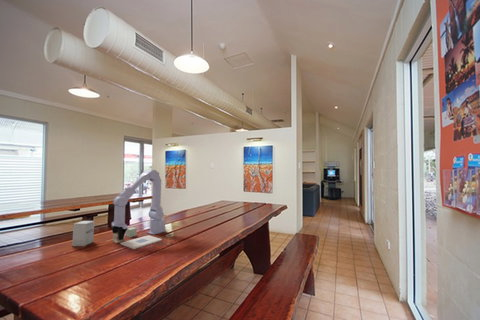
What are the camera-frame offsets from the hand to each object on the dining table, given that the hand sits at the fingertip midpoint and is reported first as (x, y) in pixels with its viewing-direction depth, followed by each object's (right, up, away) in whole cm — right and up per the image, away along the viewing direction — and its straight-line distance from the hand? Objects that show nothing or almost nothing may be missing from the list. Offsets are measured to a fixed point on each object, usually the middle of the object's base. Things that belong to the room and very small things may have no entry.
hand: (118, 238), depth 127 cm
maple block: (0, -2, 0) cm, 2 cm away
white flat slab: (+15, -2, -1) cm, 15 cm away
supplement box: (-18, -1, -5) cm, 19 cm away
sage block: (+2, -2, +10) cm, 11 cm away
